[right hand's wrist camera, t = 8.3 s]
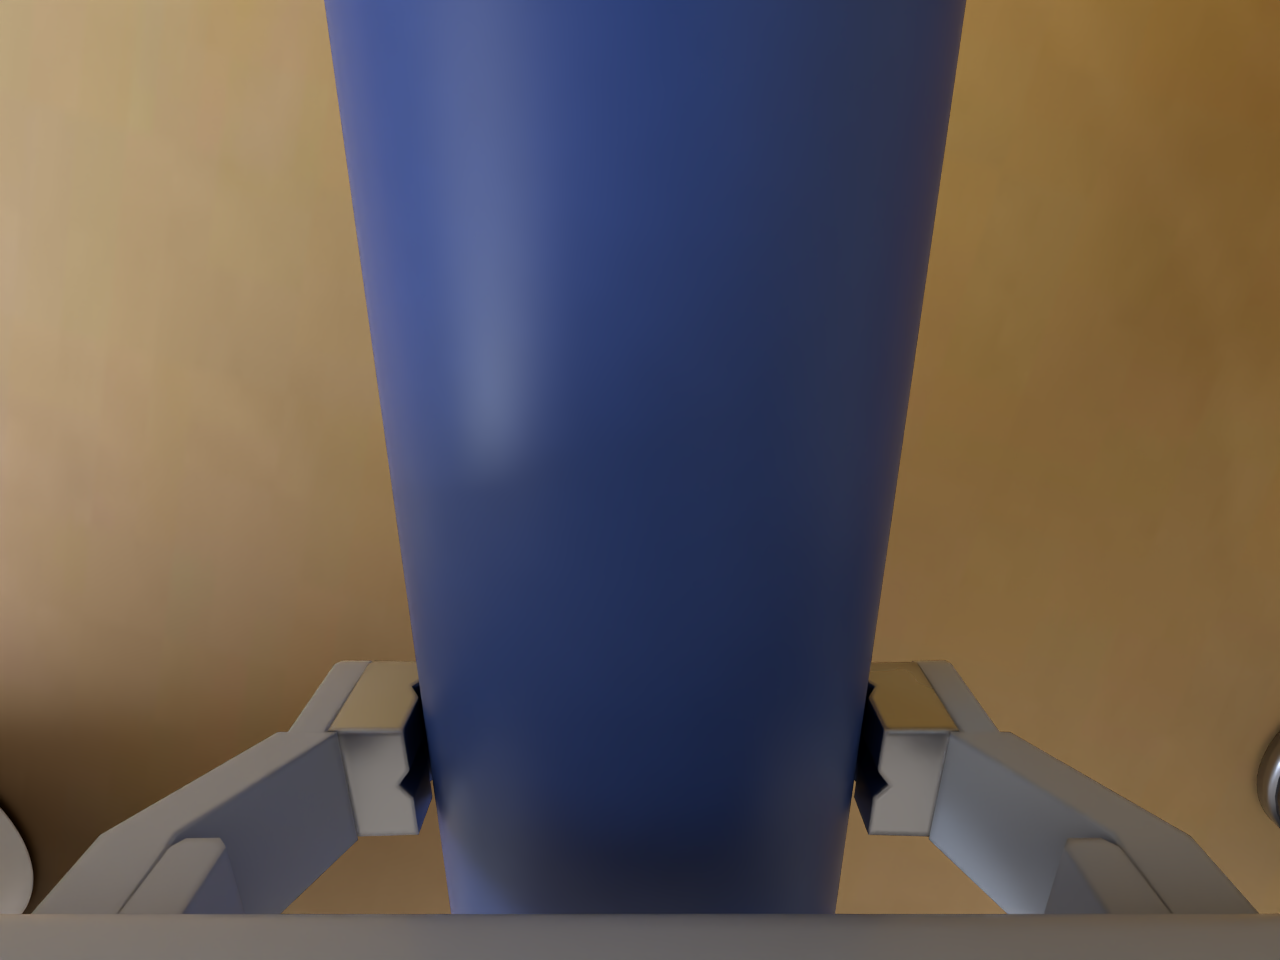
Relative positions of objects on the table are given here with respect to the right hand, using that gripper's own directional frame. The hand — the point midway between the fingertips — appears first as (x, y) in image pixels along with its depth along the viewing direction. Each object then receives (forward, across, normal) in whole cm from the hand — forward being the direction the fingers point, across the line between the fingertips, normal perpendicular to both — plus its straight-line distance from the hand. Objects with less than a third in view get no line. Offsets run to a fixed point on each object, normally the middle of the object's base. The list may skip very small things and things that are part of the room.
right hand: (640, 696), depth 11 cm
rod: (+3, 0, -8) cm, 9 cm away
